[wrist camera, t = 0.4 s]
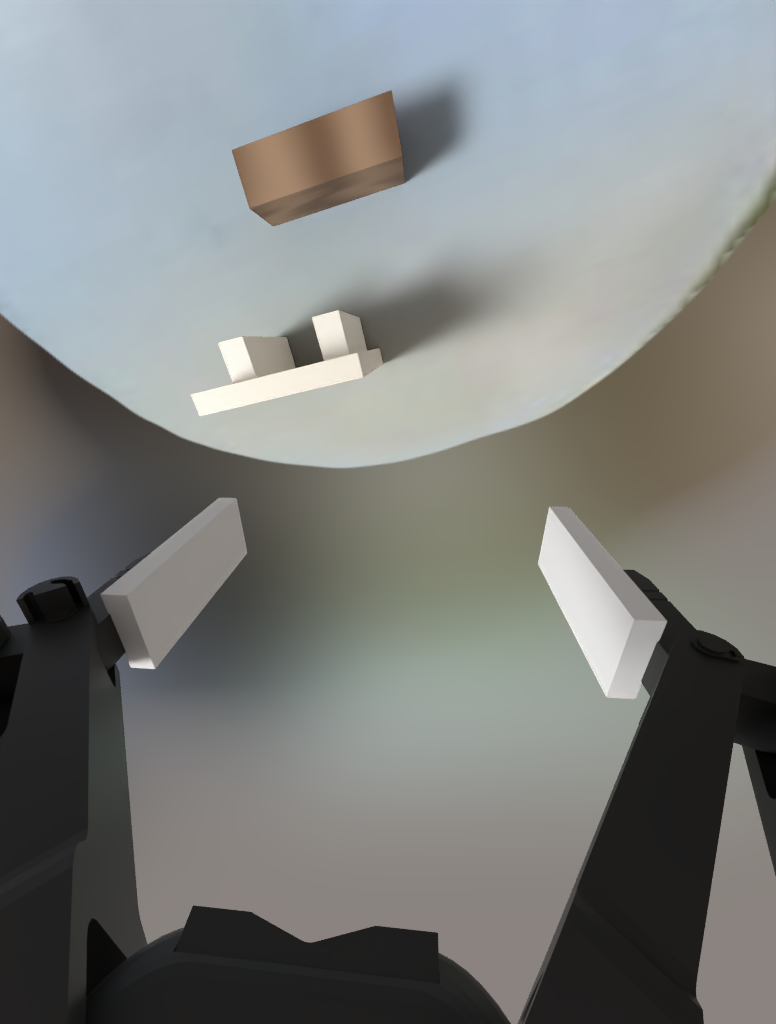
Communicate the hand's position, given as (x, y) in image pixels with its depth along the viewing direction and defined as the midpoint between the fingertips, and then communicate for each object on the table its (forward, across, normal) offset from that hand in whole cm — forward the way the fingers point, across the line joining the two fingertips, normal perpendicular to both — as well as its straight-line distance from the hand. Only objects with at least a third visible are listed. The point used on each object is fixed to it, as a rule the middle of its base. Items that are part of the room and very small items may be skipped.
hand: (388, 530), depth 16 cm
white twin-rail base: (+26, -9, +7) cm, 28 cm away
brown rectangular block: (+26, -7, +19) cm, 33 cm away
